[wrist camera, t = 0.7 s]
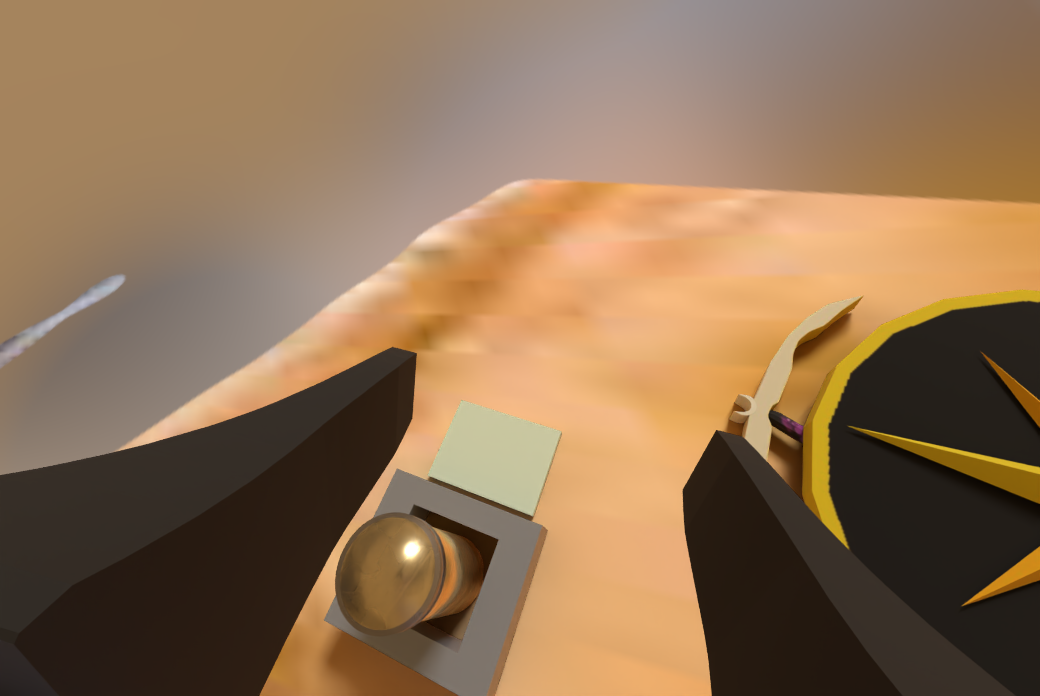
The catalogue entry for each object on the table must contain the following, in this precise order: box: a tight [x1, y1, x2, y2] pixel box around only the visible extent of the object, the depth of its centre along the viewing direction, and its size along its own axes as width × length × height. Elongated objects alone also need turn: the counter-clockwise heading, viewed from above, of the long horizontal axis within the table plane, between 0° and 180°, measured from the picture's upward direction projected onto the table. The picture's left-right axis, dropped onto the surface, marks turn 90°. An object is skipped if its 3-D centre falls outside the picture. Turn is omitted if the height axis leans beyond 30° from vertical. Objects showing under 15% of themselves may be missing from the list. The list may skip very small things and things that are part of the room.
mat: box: [428, 400, 562, 517], centre depth 27 cm, size 5×7×1 cm
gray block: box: [324, 469, 548, 696], centre depth 23 cm, size 8×9×2 cm
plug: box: [335, 512, 484, 637], centre depth 21 cm, size 4×4×8 cm
